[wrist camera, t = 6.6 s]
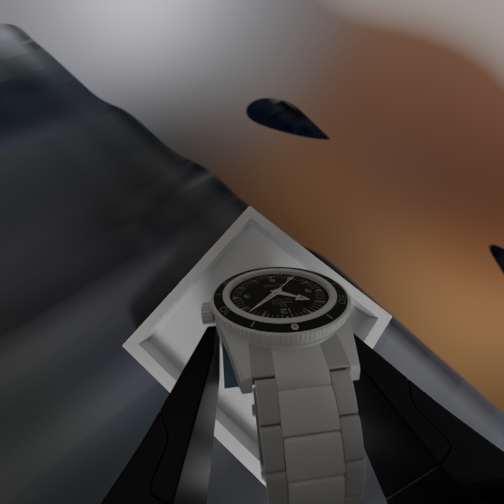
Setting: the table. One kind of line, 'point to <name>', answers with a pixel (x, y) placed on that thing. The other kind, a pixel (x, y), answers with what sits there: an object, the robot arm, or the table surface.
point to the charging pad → (192, 328)
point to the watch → (295, 379)
